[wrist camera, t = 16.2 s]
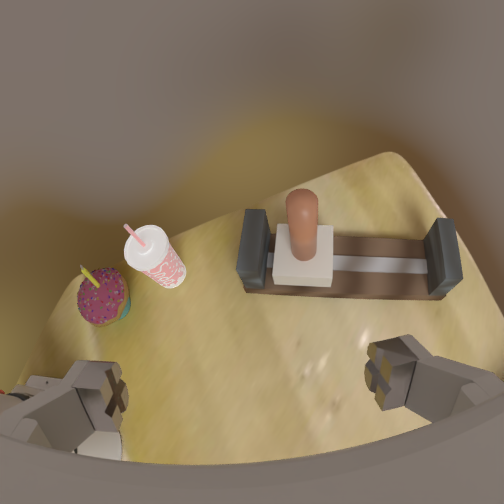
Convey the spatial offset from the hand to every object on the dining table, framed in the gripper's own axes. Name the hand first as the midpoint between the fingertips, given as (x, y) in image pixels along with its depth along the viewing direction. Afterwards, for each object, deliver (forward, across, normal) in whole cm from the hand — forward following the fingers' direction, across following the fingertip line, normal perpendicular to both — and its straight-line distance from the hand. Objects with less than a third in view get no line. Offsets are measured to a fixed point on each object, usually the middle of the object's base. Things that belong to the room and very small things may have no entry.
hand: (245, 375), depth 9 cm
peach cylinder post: (+30, -9, +6) cm, 32 cm away
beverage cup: (+36, +10, +8) cm, 38 cm away
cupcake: (+34, +18, +12) cm, 41 cm away
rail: (+30, -15, +8) cm, 35 cm away
